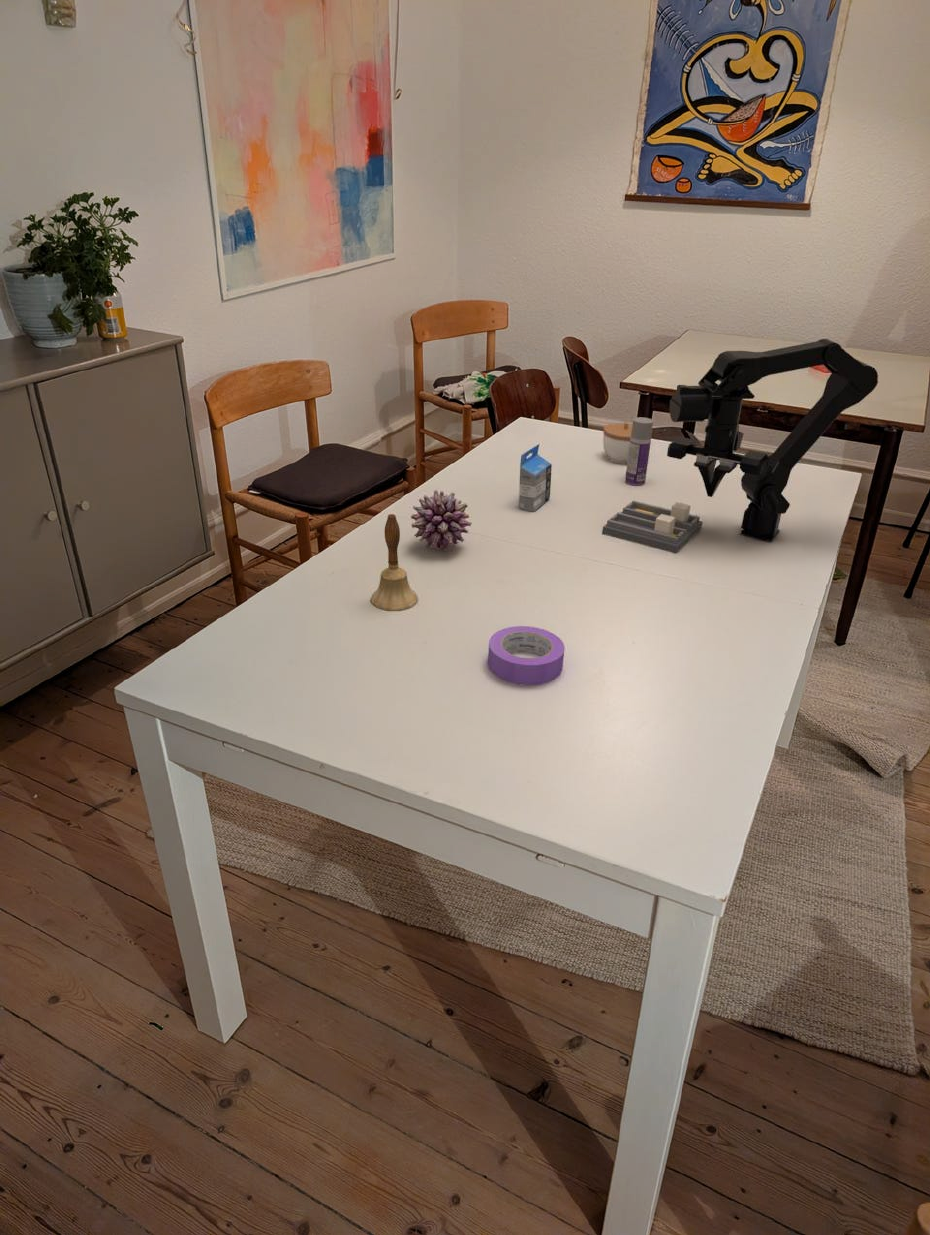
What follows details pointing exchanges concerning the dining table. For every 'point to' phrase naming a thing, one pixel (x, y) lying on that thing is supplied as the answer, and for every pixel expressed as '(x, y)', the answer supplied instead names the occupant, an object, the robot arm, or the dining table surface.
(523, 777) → the dining table surface
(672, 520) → the tab
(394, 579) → the hand bell
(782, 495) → the robot arm
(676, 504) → the beige rectangular block
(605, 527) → the switch bank
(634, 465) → the container
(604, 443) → the lidded jar
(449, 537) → the flower
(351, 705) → the dining table surface
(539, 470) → the label tape box
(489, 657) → the masking tape
